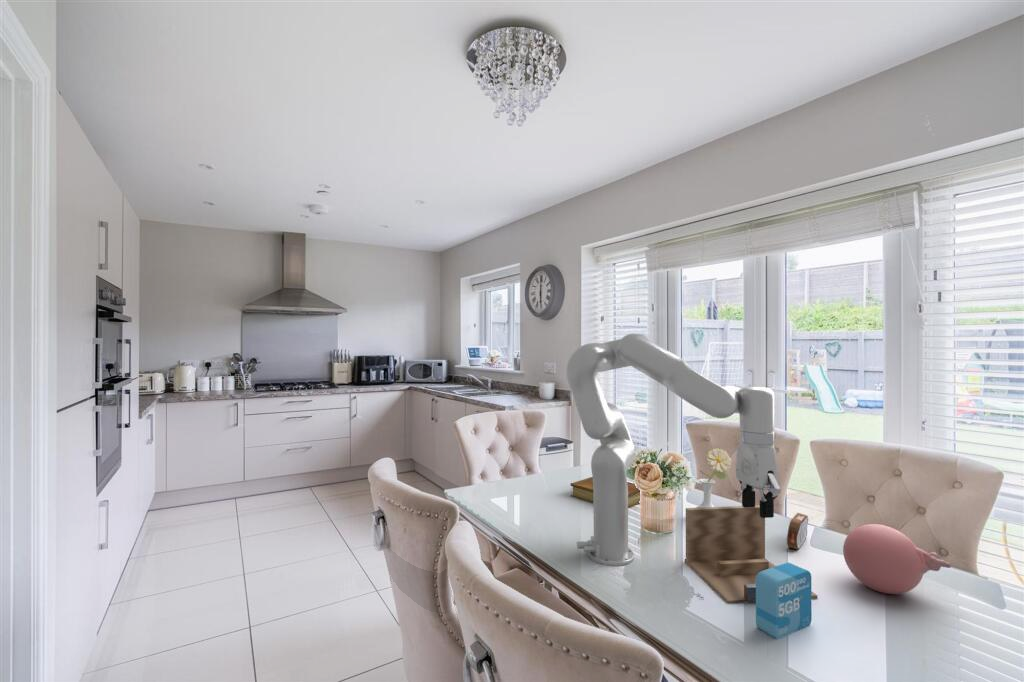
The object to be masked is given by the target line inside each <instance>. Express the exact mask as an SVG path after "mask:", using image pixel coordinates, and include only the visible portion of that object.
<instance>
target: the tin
mask: <svg viewBox="0 0 1024 682" xmlns="http://www.w3.org/2000/svg"><path fill="white" fill-rule="evenodd" d="M808 522H809V517H808V515H807V514H803V513H800V512H796V513H795V515H794V516H793V517H792V518H791V519H790V521H789V524H788V528H787V535H786V538H787V539H786V540H787V542H786V545H787V547H788V548H790V549H794V550H796V551H797V550H800V548H801V547H802V546H803V545H804V543H805V542H806V539H807V536H808Z"/></svg>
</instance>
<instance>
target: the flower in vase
mask: <svg viewBox="0 0 1024 682" xmlns="http://www.w3.org/2000/svg"><path fill="white" fill-rule="evenodd" d="M731 462H732V458H731V457H730V455H729V454H728V451H726V450H723V449H722V448H720V449H719V448H718V447H716V448H714V449H711V450H709V451H708V452H707V456H706V463H707V464H708V466H709V467H710V470H711V469H712V470H713V473H712V475H711V476H710V475H709V473H705V472H703V471H702V470H699V472H700V473H701V474H702V475H705V476H707V477H709V478H701V479H699V483H700V485H701V486H702V491H703V500H702V502H701V504H699V505H697V506H696V507H695V508H701V507H716V506H715V505H714V504H713V503H712V489H713V486H714V485H715V484H716V481H715V480H714V479H712V477H713V476H716V477H717V478H718V479H725V478H728V477H729V475H728V474H727V473H726V472H725V471H728V470H730V469H731V465H732V463H731Z"/></svg>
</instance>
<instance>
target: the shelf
mask: <svg viewBox="0 0 1024 682" xmlns="http://www.w3.org/2000/svg"><path fill="white" fill-rule="evenodd" d="M684 562H685V564H686V565H688V566H689V568H691V569H692V570H693V571H694V572H695V573H696V574H697V575H698V576H699V577H700V578H701V579H702V580H703V581H705V582H706V584H707V585H708V586H709V587H710V588H711V589H712V590H713V591H715V593H717V594H718V595H719V596H720V597H721V598H722V599H723V600H724V602H726V603H727V604H728V605H730V604H744V603H745V602H749V603H756V600H754V601H748V600H747V599H745V598H744V584H756V577H757V574H758V573H759V572H761V571H763V570H766V569H769V568H772V567H775V566H776V565H775V564H773V562H771V561H769V560H768V559H767V558H766V518H761V517H760V504H758V505H756V504H755V507H748V508H744V507H743V506H742V505H734V506H733V505H732V506H731V505H730V506H715V507H701V508H696V507H685V558H684ZM705 582H704V583H705ZM811 595H812V600H815V599H818V595H817V594H816V593H815V592H813V590H811Z"/></svg>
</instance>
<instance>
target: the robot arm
mask: <svg viewBox="0 0 1024 682" xmlns="http://www.w3.org/2000/svg"><path fill="white" fill-rule="evenodd" d="M627 367H631V368H633V369H636V370H638V371H639V372H641V373H642V374H644V375H646V376H647V377H649V378H650V379H652V380H654V381H655V382H658V383H659V384H661V385H663V386H664V387H665V388H666V389H668V391H671V392H672V393H674V394H676V396H678V397H679V398H681V399H682V400H684V401H685V402H687V403H688V404H689V405H691V406H693V407H695V408H697V409H698V410H700V411H701V412H703V413H705V414H707V415H708V416H711V417H713V418H715V419H726V418H730V417H732V416H733V415H734V414H739V441H738V444H737V449H736V450H737V451H736V458H735V459H736V462H735V463H736V464H735V477H736V478H737V480H738V482H739V484H740V490H741V498H742V499H741V506H743V507H744V508H748V507H755V505H756V491H755V490H754V489H757V490H759V494H760V498H761V500H759V505H760V517H761V518H765V519H768V518H774V517H775V512H774V511H775V510H774V509H775V507H774V506H775V505H774V504H775V503H774V502H776V498H777V497H778V495H779V494H780V493H781V492H782V489H781V487H780V485H779V484H778V480H779V479H778V477H779V476H778V463H777V461H778V460H777V456H776V455H777V454H776V448H775V393H774V391H773V390H772V389H771V388H769V387H761V386H745V387H741V386H734V385H729V384H728V385H727V384H718V383H716V382H714V381H712V380H710V379H709V378H707V377H705V376H704V375H702V374H700V373H699V372H697V371H696V370H695V369H693V368H692V367H690V365H689V364H687V362H686V361H685V360H684V359H683V358H681V357H680V356H678V355H676V354H675V353H673V352H671V351H669V350H667V349H666V348H664V347H662V346H660V345H658V344H656V343H654V342H653V341H652V339H651V338H650V337H649V336H647V335H645V334H641V333H628V334H626V335H625V336H623V337H622V338H620V339H615V340H611V341H606V342H600V343H599V342H598V343H597V342H589V343H586V344H583V345H580V347H579V346H578V348H577V349H576V350H575V351H574V352H573V353H572V354H571V356H570V357H569V359H568V362H567V366H566V377H567V378H566V379H567V382H568V385H569V388H570V392H571V394H572V396H573V400H574V402H575V403H574V404H575V407H576V410H577V413H578V416H579V418H580V422H581V424H582V427H583V430H584V432H585V434H586V435H587V436H588V437H589V438H591V439H593V440H598V441H599V442H600V445H599V446H598V447H597V448H595V450H594V451H593V454H592V456H591V461H590V465H591V467H590V468H591V475H592V476H591V477H593V499H594V503H593V535H592V536H591V535H590V539H588V540H587V541H576V549H577V550H583V552H585V553H587V555H588V557H589V558H590V559H591V561H594V562H595V561H596V563H598V564H600V563H602V564H601V565H604V564H607V565H606V566H609V565H613V566H612V567H618V566H620V567H621V566H626V565H629V564H631V563H632V562H633V561H634V559H635V552H634V551H633V550H632V549H631V548H629V508H628V485H627V482H628V479H627V471H628V469H629V468H631V466H632V465H633V464H634V463H635V460H636V449H635V446H634V445H635V444H634V443H633V440H632V437H631V433H630V431H629V428H628V425H627V423H626V420H625V417H624V415H623V413H622V411H621V410H620V408H618V406H616V405H615V404H613V403H610V402H607V400H606V397H605V394H604V391H603V388H602V386H601V383H599V380H598V379H597V373H602V372H608V371H611V370H616V369H622V368H627ZM765 491H767V493H766V492H765Z"/></svg>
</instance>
